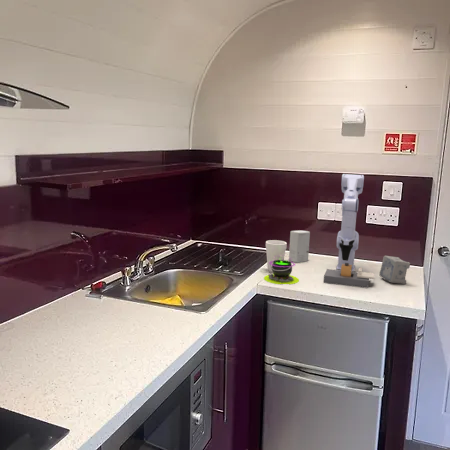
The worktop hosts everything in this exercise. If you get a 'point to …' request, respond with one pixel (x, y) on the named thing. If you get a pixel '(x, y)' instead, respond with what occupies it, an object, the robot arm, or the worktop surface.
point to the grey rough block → (394, 269)
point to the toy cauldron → (281, 273)
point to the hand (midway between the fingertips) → (345, 258)
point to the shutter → (365, 274)
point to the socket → (345, 279)
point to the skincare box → (299, 246)
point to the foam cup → (275, 251)
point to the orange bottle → (346, 270)
